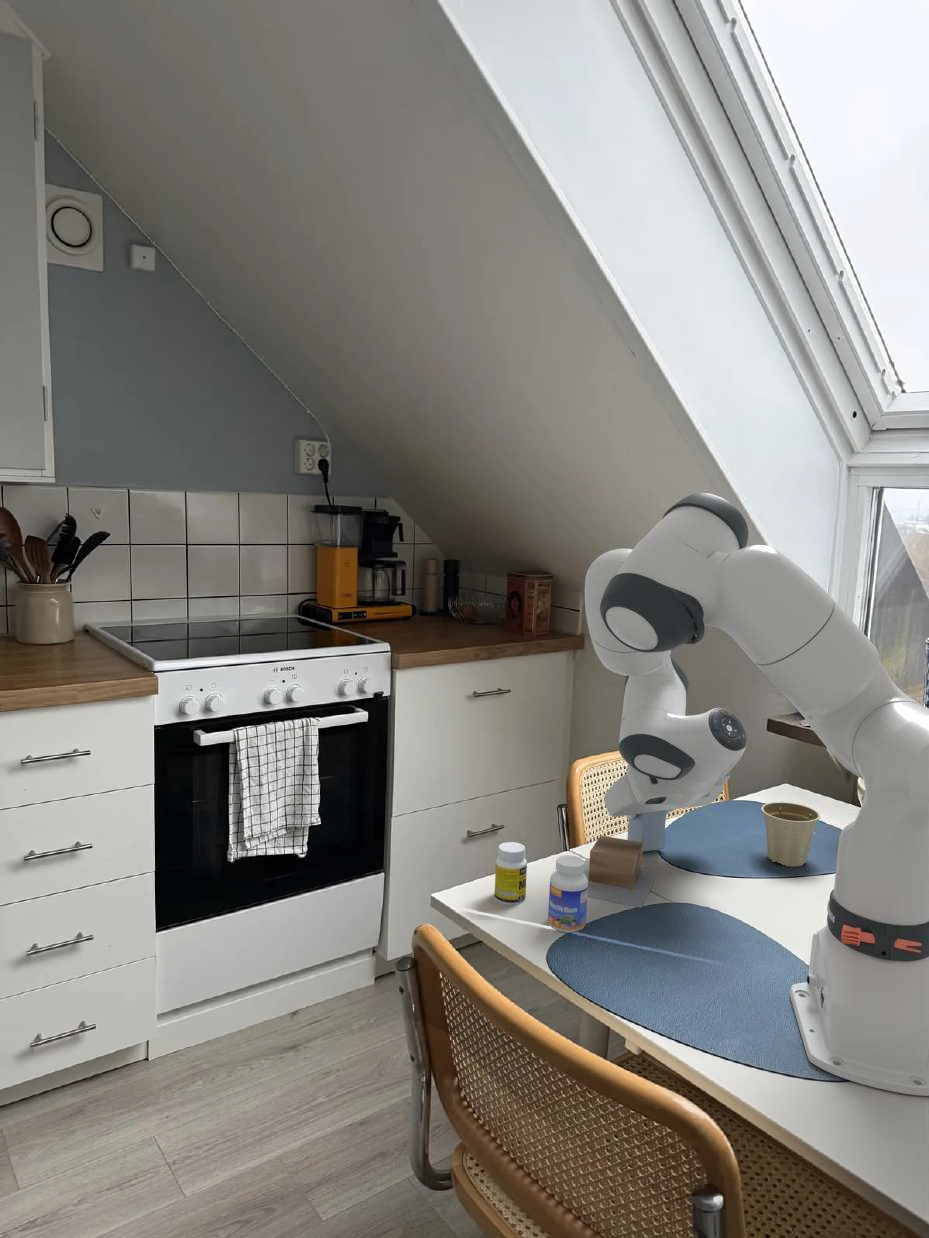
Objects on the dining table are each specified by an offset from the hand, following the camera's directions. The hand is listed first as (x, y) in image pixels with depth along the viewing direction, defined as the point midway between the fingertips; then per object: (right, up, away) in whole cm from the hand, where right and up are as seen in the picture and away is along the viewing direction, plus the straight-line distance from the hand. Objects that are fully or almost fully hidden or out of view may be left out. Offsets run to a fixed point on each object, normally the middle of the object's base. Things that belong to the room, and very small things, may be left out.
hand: (645, 814), depth 159 cm
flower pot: (+24, -8, -1) cm, 25 cm away
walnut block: (-7, -8, -11) cm, 15 cm away
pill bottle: (-16, -11, -26) cm, 33 cm away
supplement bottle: (-24, -9, -19) cm, 32 cm away
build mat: (-8, -8, -13) cm, 17 cm away
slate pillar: (0, -5, 0) cm, 5 cm away
